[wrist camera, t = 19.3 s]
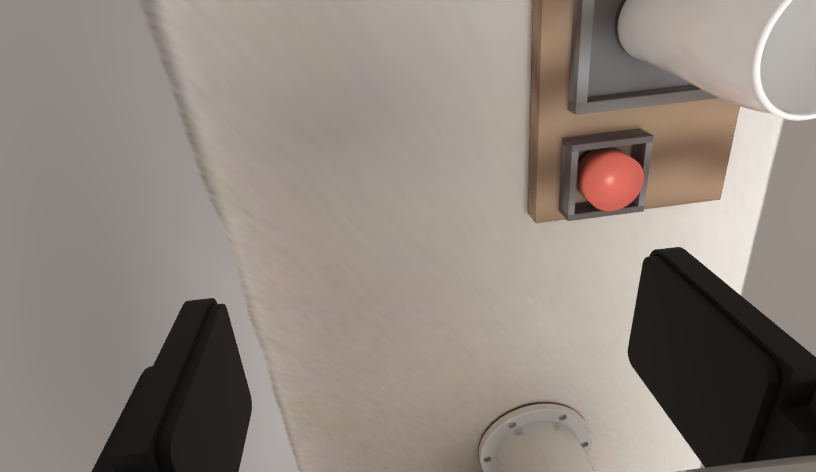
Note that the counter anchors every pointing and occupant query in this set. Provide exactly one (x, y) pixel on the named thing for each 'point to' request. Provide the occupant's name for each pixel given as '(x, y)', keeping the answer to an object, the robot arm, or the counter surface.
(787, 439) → the robot arm
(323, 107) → the counter surface
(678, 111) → the brown flat wooden board
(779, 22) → the drinking glass
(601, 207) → the button
